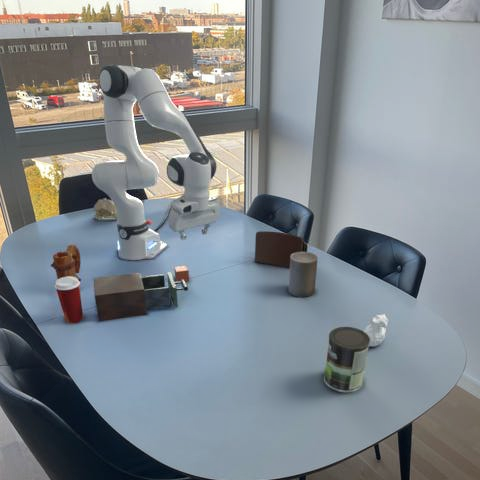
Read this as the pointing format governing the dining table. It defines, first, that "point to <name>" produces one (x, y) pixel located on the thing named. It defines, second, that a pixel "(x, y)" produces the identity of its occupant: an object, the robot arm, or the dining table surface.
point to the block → (181, 273)
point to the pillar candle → (302, 274)
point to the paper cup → (70, 298)
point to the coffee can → (346, 359)
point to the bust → (377, 330)
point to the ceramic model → (105, 210)
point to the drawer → (161, 291)
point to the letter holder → (277, 247)
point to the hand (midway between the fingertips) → (194, 236)
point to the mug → (67, 262)
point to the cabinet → (119, 296)
